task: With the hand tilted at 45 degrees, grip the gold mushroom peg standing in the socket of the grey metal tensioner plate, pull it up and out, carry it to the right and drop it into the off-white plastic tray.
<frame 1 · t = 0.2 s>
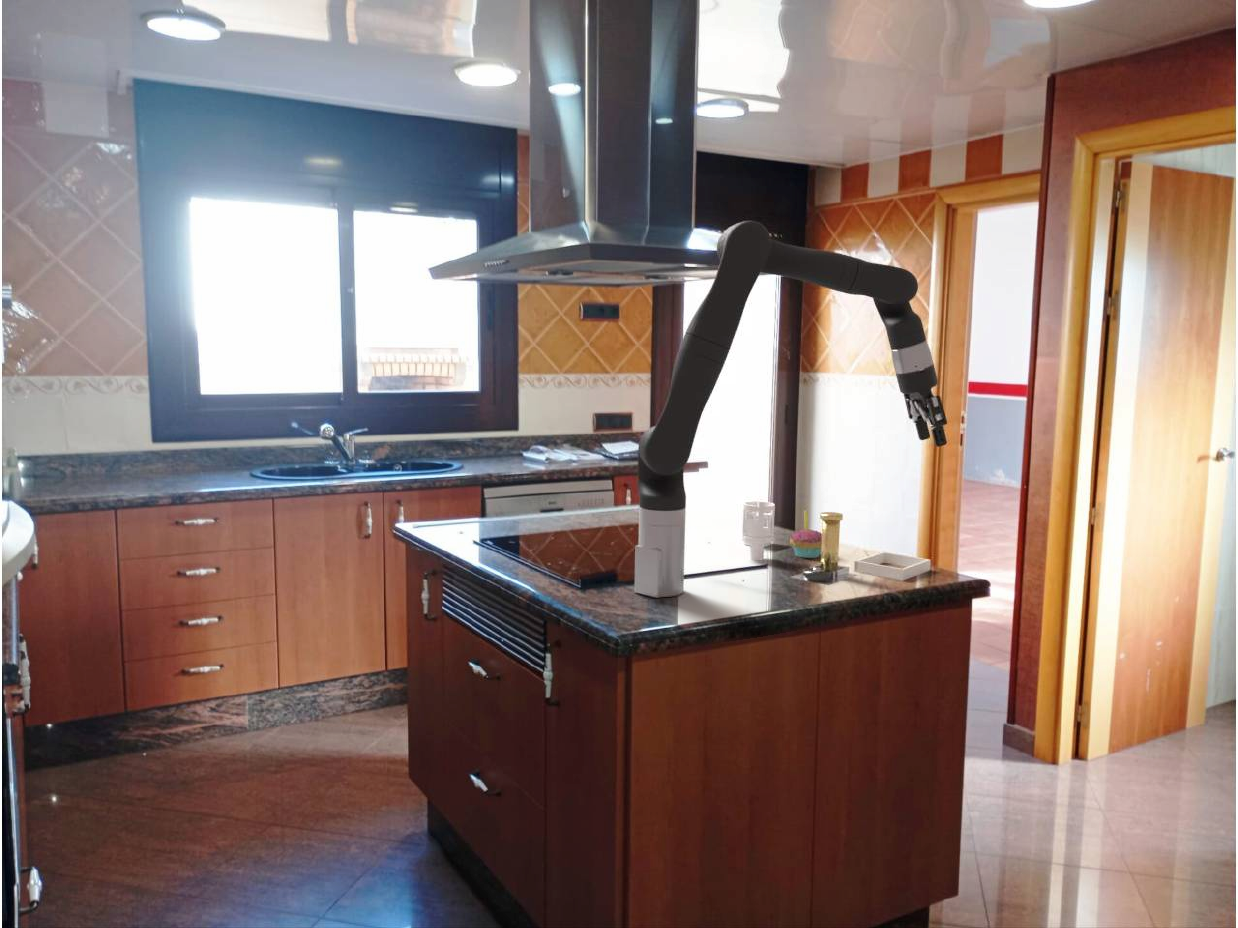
hand: (933, 442, 201), 30 cm above the countertop, tool tilted 20°, fingers open, 8 cm apart
gold mushroom peg: (828, 574, 209), point 1 cm above the countertop, touching tensioner plate
tensioner plate: (823, 581, 208), on the countertop
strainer: (756, 564, 222), on the countertop
cupcake: (807, 560, 227), on the countertop
white cup: (757, 545, 244), on the countertop
tray: (891, 575, 213), on the countertop
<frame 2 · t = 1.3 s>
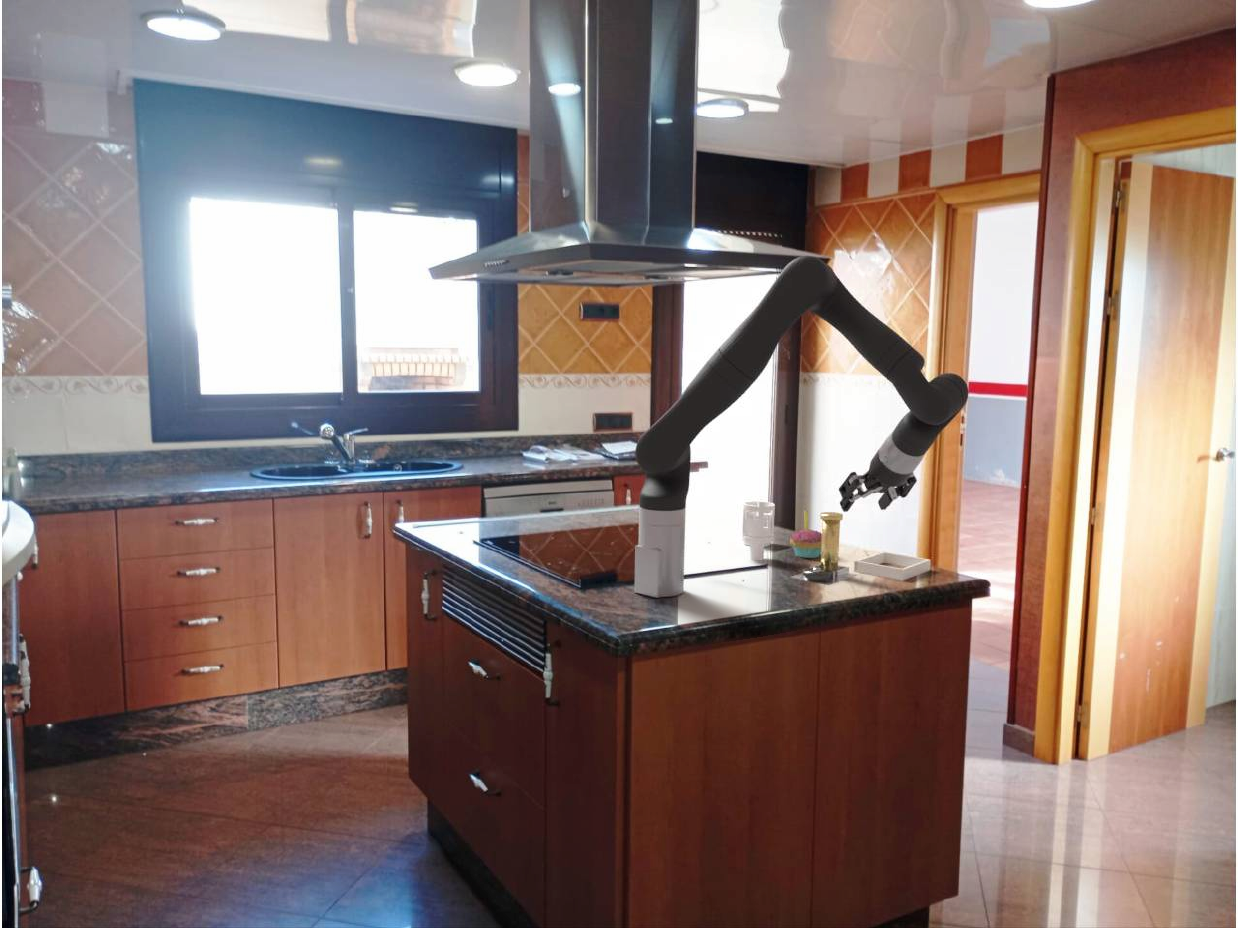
hand: (862, 507, 196), 18 cm above the countertop, tool tilted 45°, fingers open, 8 cm apart
nothing on the countertop moved.
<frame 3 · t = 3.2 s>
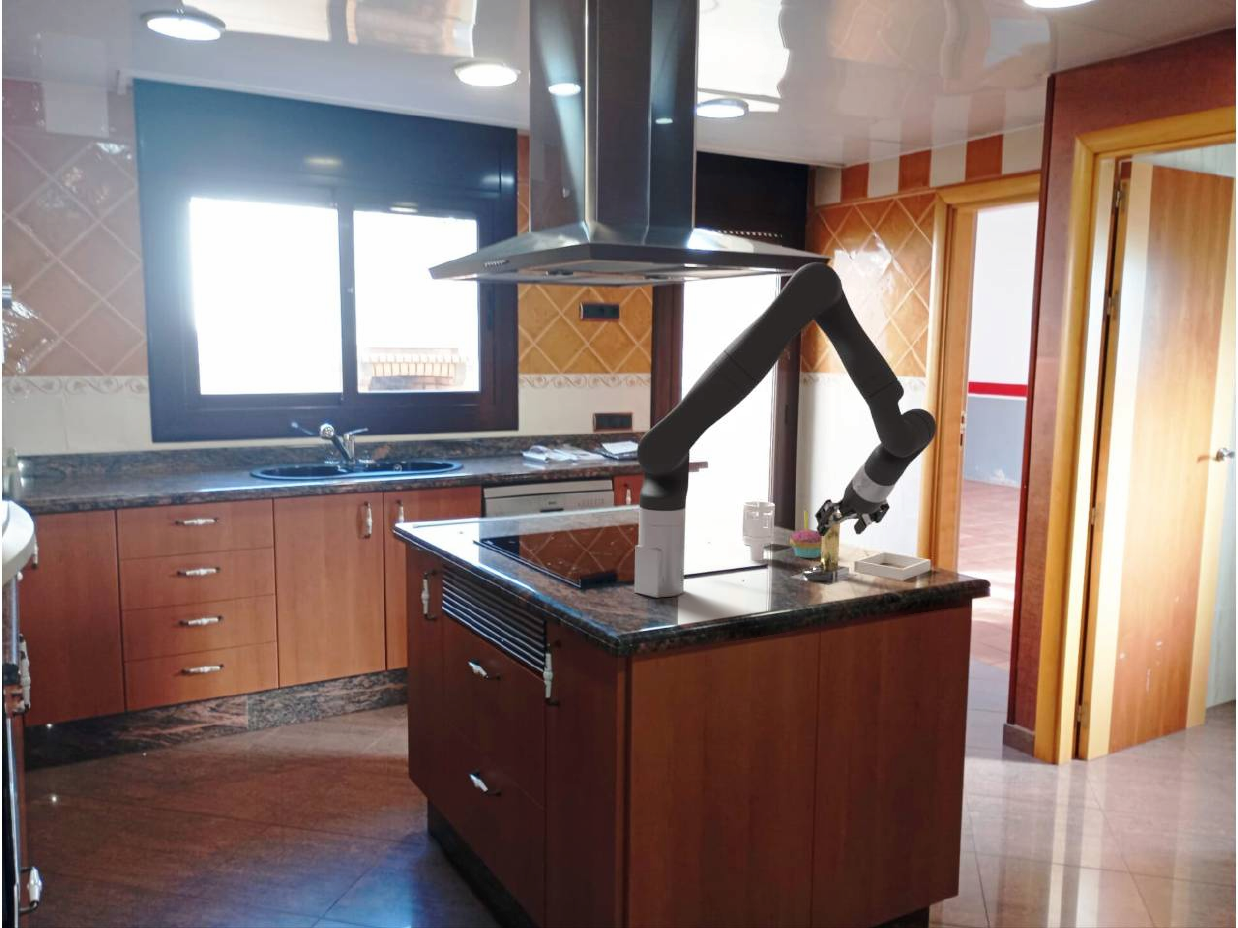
hand: (838, 531, 205), 11 cm above the countertop, tool tilted 45°, fingers open, 8 cm apart
nothing on the countertop moved.
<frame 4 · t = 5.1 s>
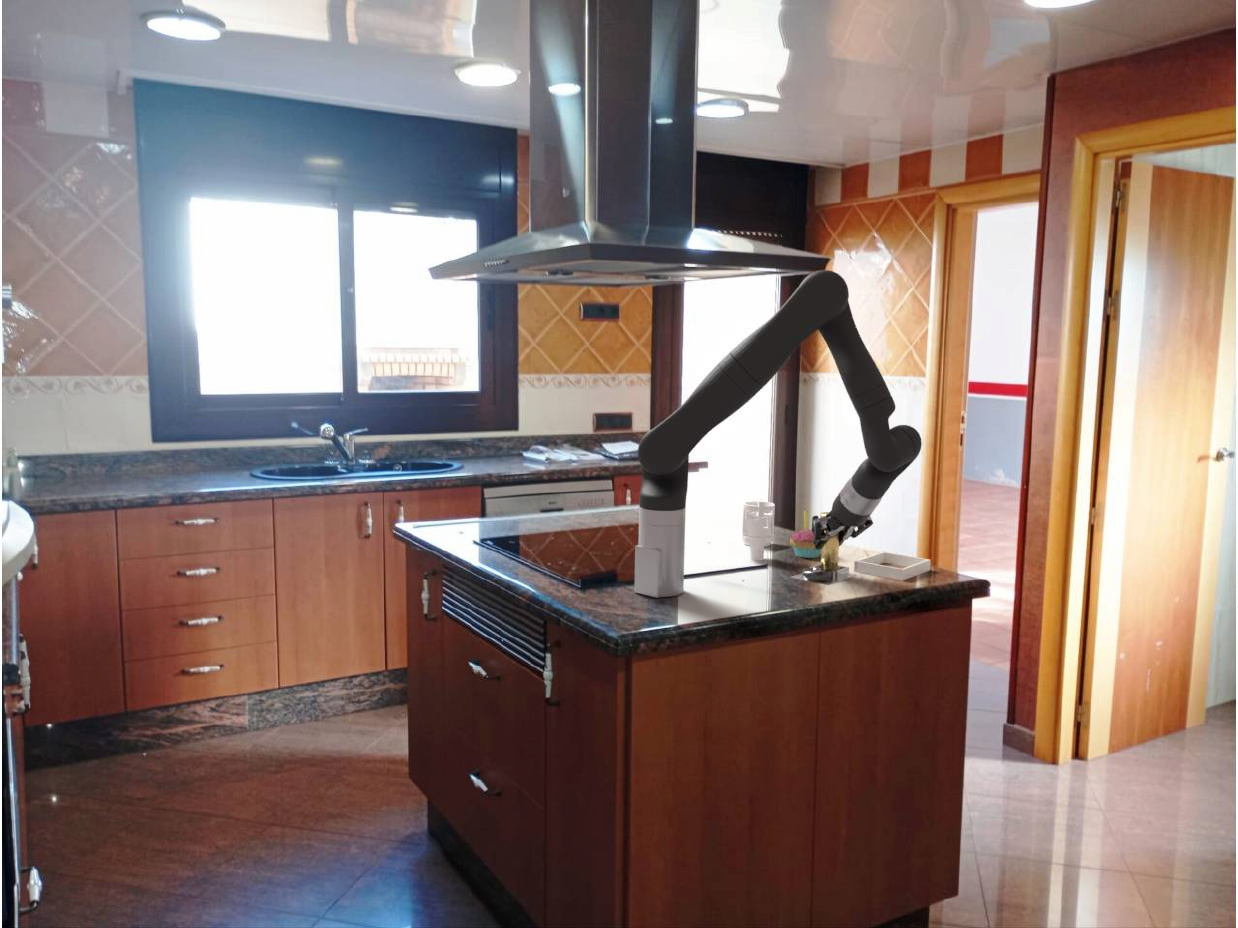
hand: (825, 545, 210), 7 cm above the countertop, tool tilted 45°, fingers closed on gold mushroom peg, 3 cm apart
gold mushroom peg: (828, 574, 209), point 1 cm above the countertop, touching gripper, tensioner plate
everything else where it was.
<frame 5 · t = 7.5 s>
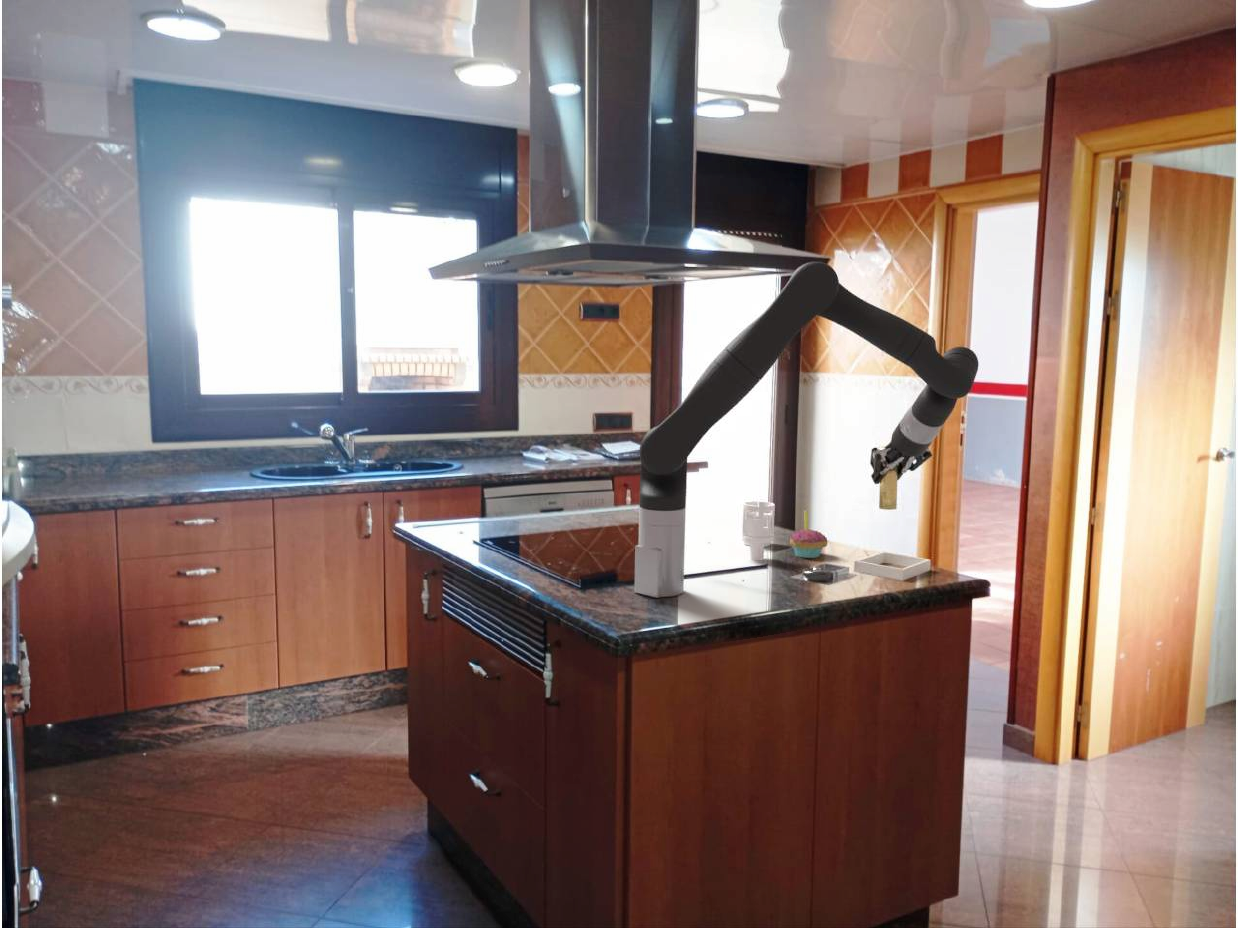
hand: (883, 480, 211), 21 cm above the countertop, tool tilted 45°, fingers closed on gold mushroom peg, 3 cm apart
gold mushroom peg: (887, 508, 210), point 15 cm above the countertop, touching gripper
everything else where it was.
when the fingers open (9 cm above the countertop, at t = 10.2 s): gold mushroom peg drops 2 cm, resting on tray.
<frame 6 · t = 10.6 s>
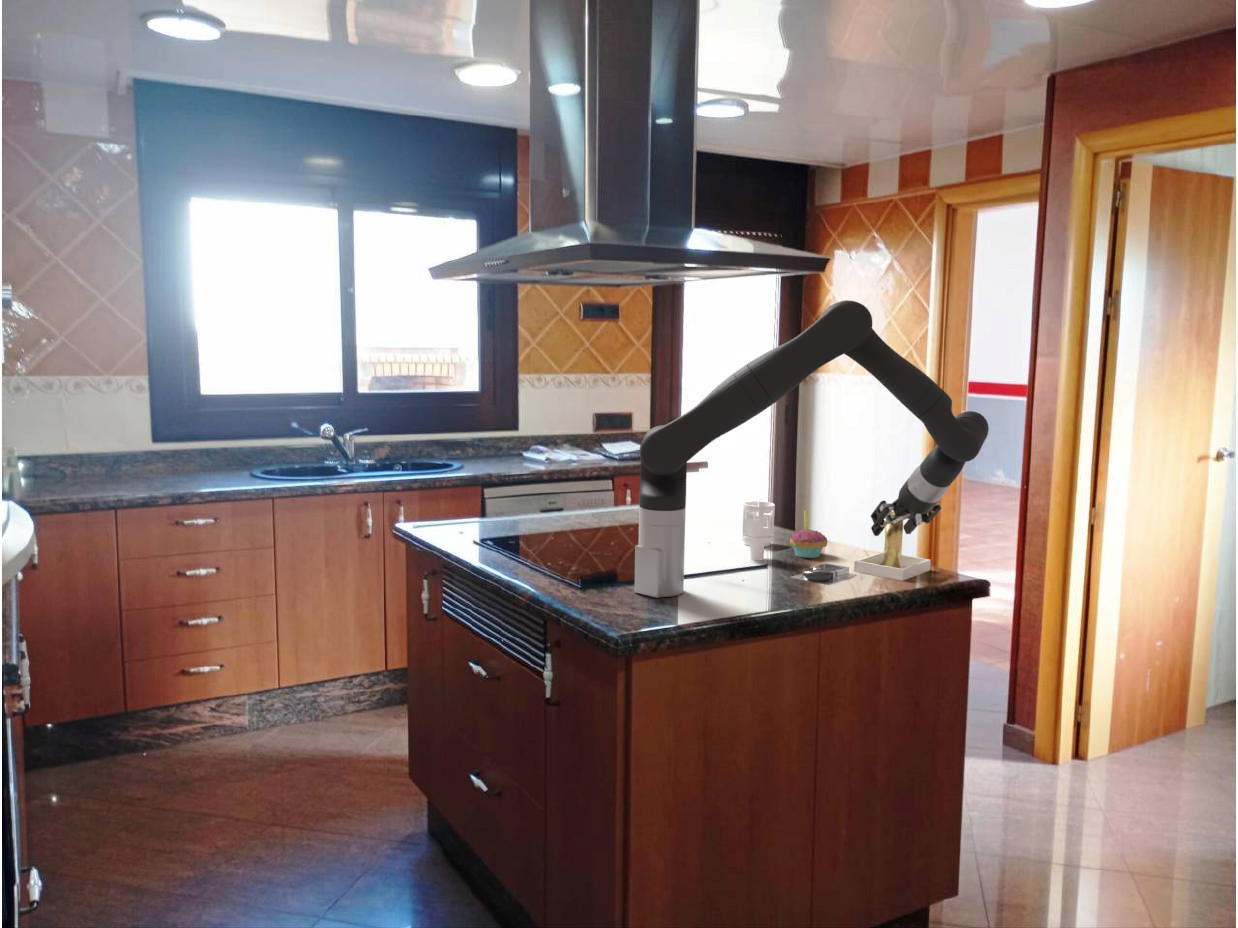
hand: (890, 531, 213), 10 cm above the countertop, tool tilted 45°, fingers open, 7 cm apart
gold mushroom peg: (891, 572, 213), point 1 cm above the countertop, touching tray
everything else where it was.
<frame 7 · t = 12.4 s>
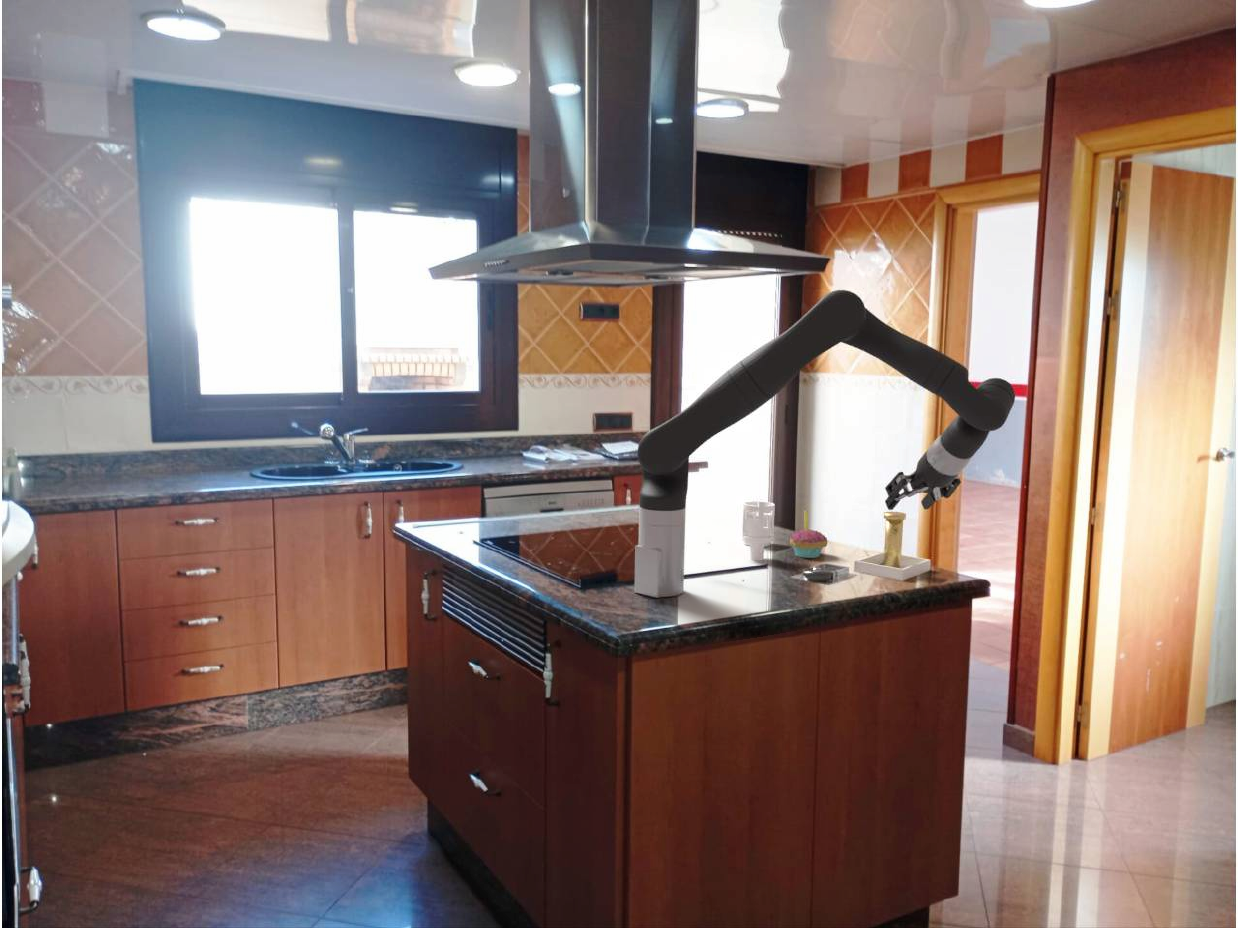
hand: (906, 506, 203), 17 cm above the countertop, tool tilted 45°, fingers open, 8 cm apart
nothing on the countertop moved.
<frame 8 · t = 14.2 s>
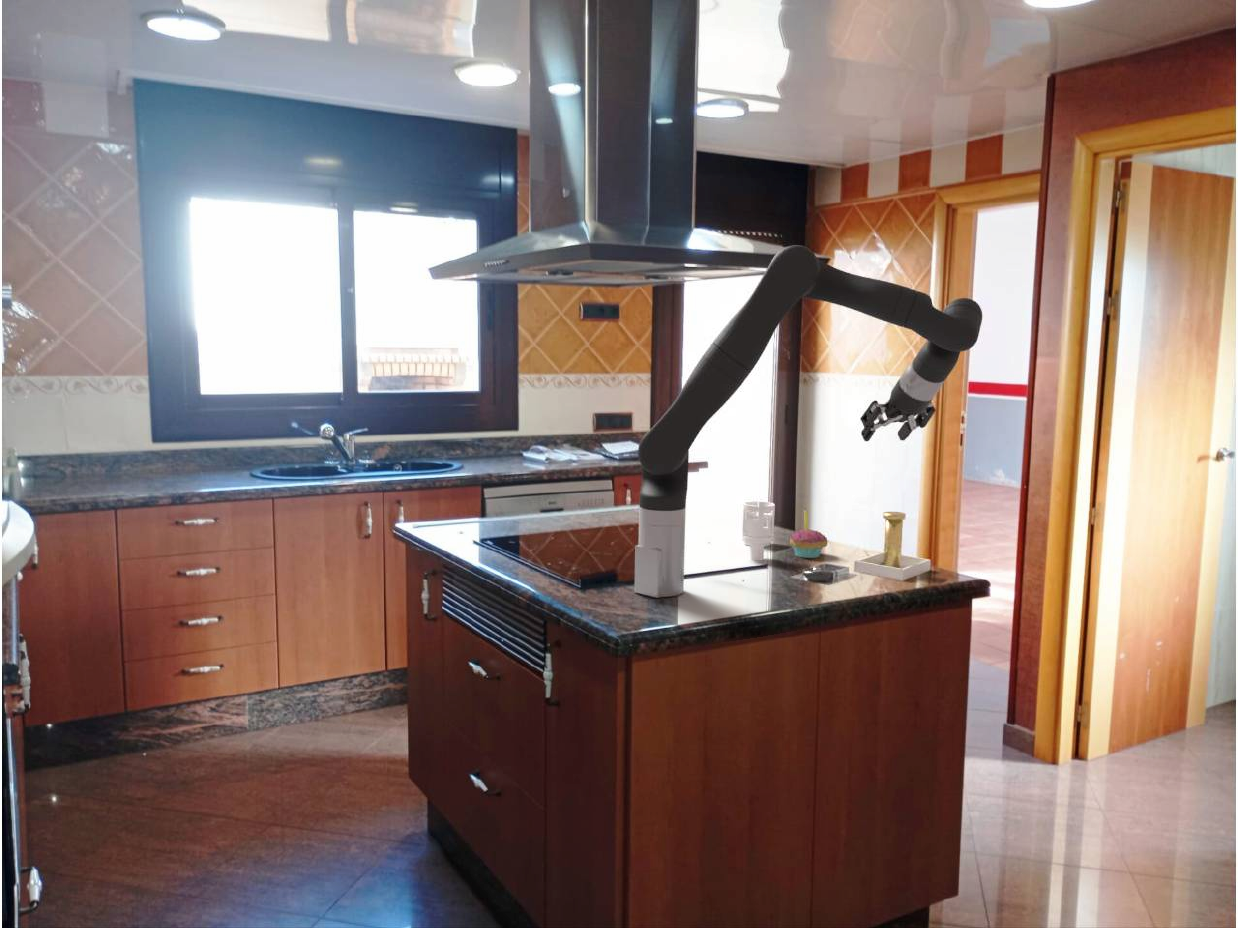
hand: (882, 437, 204), 31 cm above the countertop, tool tilted 45°, fingers open, 8 cm apart
nothing on the countertop moved.
at the end: gold mushroom peg inside the target area on the tray (0.3 cm from its centre), point 0.8 cm above the tray's base; the gripper is holding nothing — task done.
